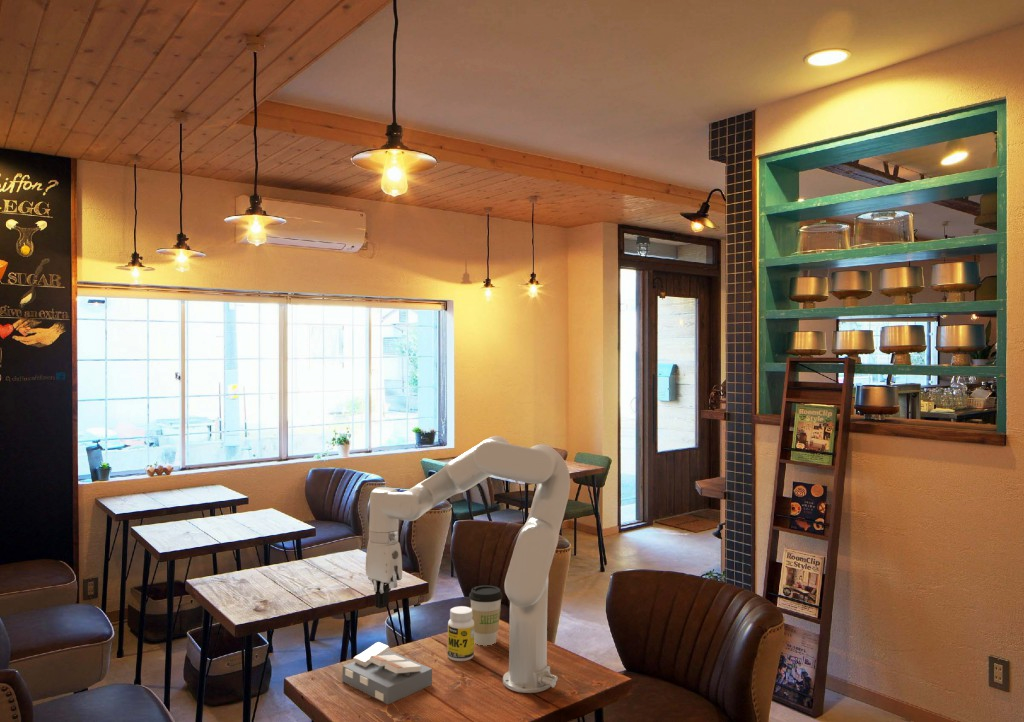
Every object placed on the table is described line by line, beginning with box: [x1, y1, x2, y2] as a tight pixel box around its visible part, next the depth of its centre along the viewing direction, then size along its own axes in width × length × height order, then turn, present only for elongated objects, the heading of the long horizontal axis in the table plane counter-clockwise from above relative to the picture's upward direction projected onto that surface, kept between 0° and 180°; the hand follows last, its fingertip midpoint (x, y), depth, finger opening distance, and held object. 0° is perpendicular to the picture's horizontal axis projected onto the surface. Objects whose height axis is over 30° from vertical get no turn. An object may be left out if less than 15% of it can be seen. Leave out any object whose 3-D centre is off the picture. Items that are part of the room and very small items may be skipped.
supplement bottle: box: [446, 605, 475, 662], centre depth 195 cm, size 7×7×13 cm
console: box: [341, 650, 433, 705], centre depth 179 cm, size 18×14×5 cm
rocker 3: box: [385, 661, 422, 673], centre depth 175 cm, size 4×8×1 cm, turn 139°
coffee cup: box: [468, 584, 504, 647], centre depth 206 cm, size 10×10×15 cm
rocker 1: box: [353, 641, 391, 667], centre depth 182 cm, size 4×8×1 cm, turn 139°
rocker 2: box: [370, 655, 406, 666], centre depth 179 cm, size 4×8×1 cm, turn 139°
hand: (381, 606), depth 185 cm, fingers closed
